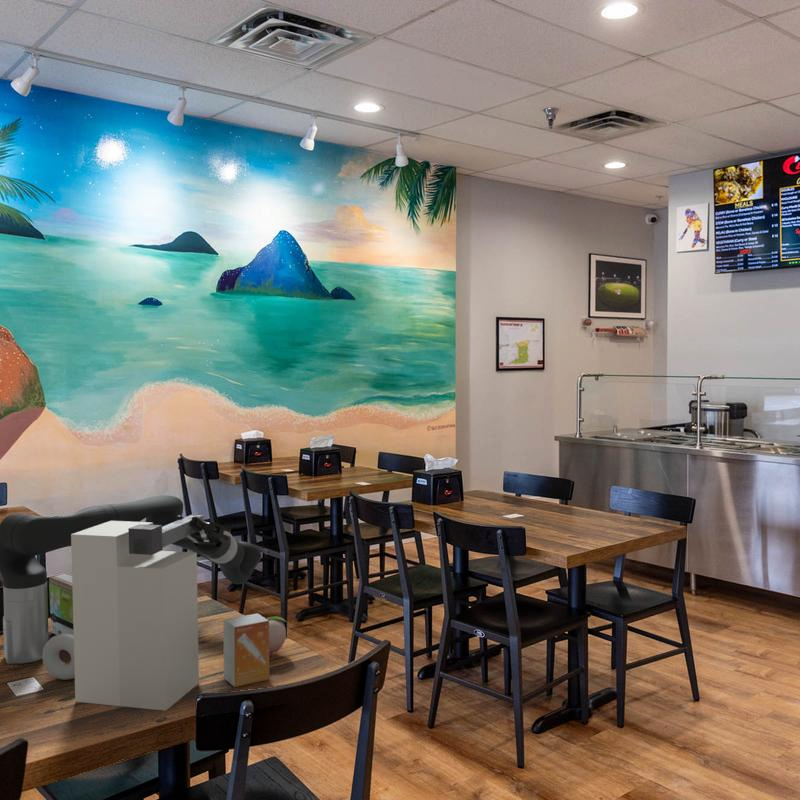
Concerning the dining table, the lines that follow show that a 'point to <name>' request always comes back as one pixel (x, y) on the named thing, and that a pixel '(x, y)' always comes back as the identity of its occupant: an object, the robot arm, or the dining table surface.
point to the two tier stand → (132, 620)
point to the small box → (246, 649)
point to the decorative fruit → (276, 633)
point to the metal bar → (158, 535)
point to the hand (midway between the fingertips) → (185, 520)
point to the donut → (52, 656)
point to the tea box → (61, 604)
